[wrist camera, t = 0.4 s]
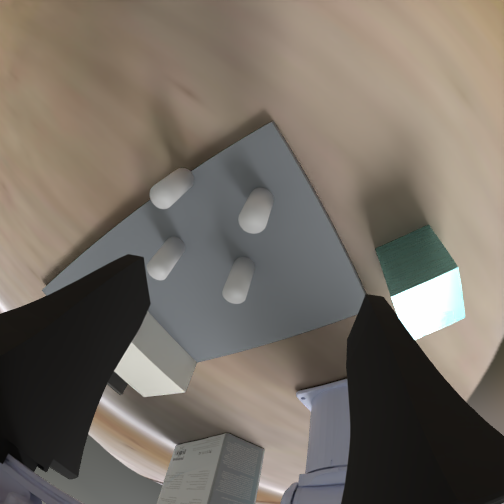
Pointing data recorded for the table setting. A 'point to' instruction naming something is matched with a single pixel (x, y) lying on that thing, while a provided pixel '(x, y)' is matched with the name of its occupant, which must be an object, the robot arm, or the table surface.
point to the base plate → (233, 252)
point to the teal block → (422, 282)
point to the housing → (155, 362)
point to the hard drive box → (213, 472)
